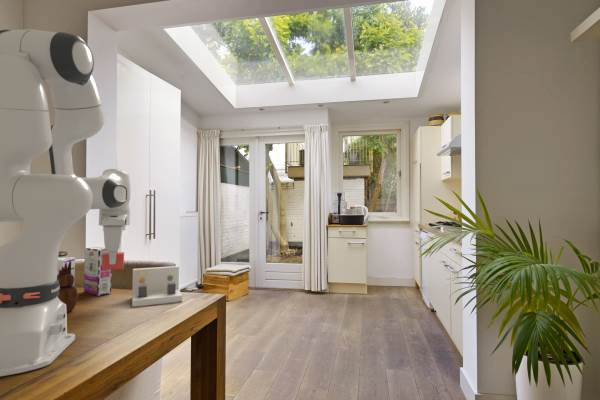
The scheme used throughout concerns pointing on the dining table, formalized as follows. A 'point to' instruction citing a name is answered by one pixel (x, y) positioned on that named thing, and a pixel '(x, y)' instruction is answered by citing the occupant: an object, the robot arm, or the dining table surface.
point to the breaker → (142, 291)
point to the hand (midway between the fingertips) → (113, 262)
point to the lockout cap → (118, 264)
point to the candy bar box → (96, 273)
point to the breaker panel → (156, 298)
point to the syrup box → (66, 260)
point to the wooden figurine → (67, 288)
